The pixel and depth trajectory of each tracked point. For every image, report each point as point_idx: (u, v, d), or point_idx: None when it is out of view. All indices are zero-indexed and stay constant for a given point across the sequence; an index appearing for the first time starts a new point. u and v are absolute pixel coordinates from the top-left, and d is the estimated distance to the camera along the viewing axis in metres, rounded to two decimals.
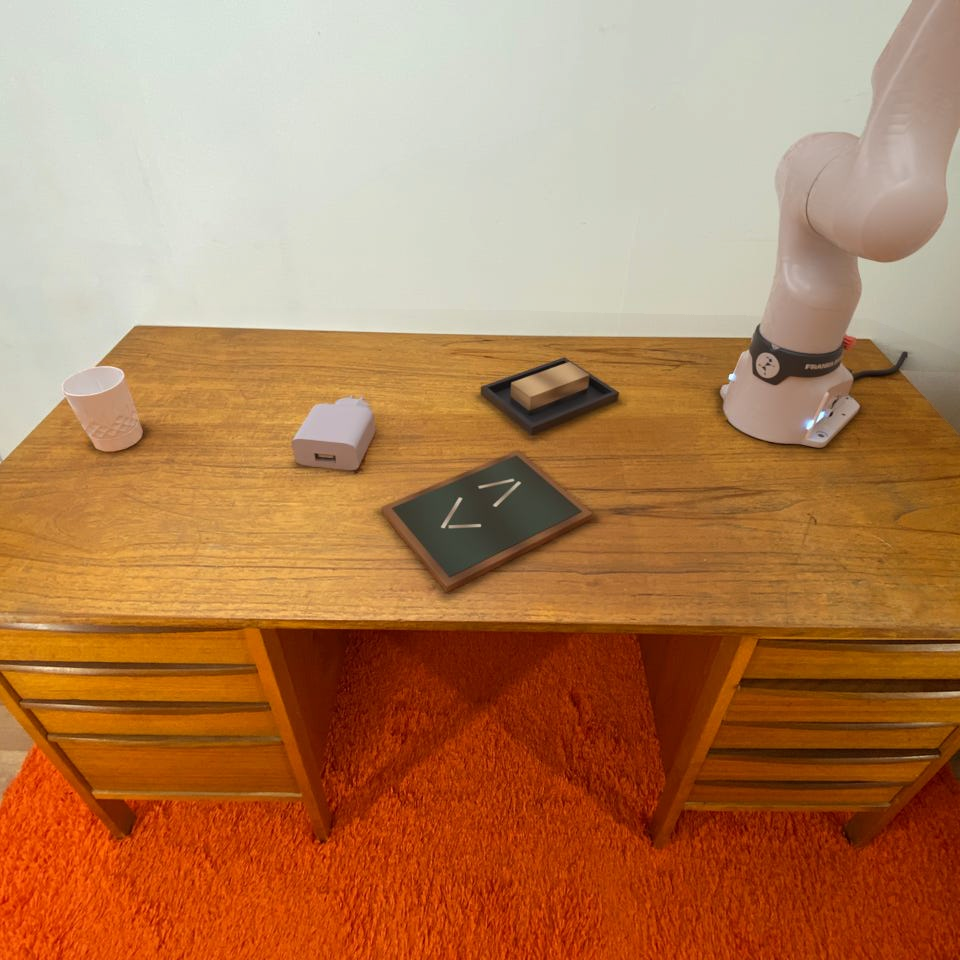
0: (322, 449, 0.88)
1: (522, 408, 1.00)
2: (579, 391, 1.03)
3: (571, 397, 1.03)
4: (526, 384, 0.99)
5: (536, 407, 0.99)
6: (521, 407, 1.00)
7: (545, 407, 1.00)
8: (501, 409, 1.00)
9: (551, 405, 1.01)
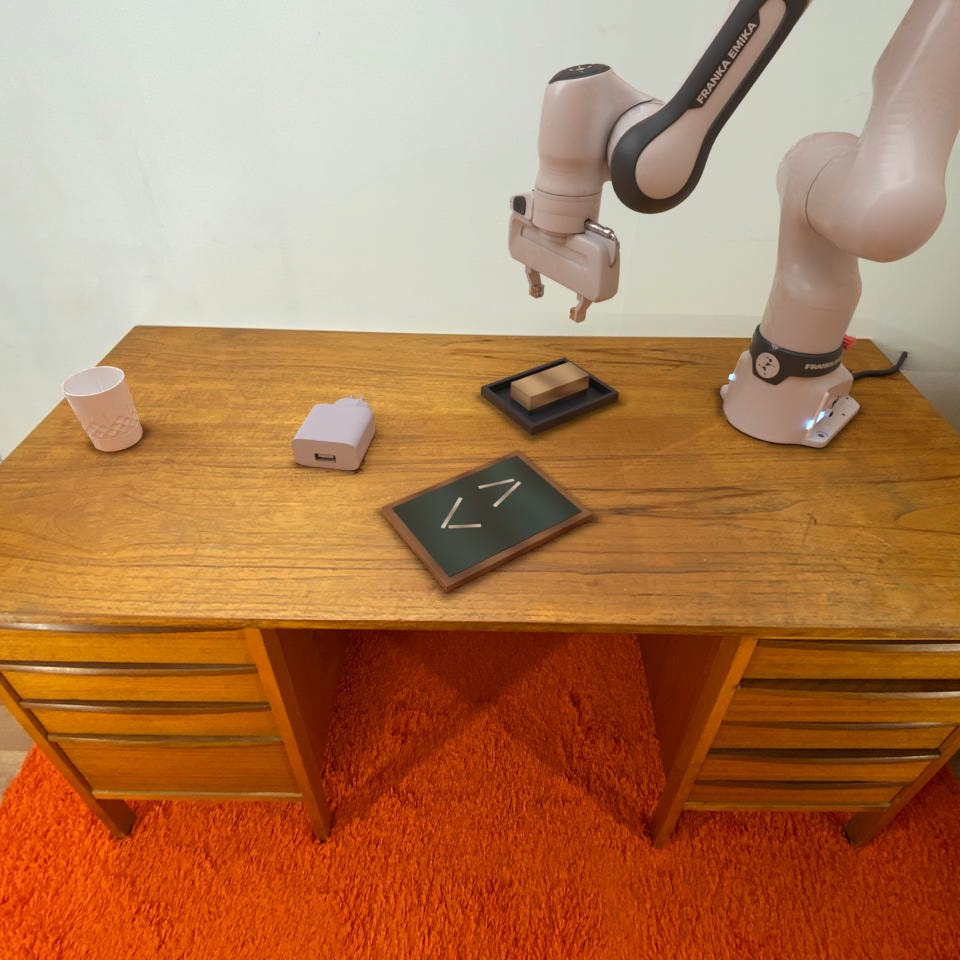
0: (322, 449, 0.88)
1: (522, 408, 1.00)
2: (579, 391, 1.03)
3: (571, 397, 1.03)
4: (526, 384, 0.99)
5: (536, 407, 0.99)
6: (521, 407, 1.00)
7: (545, 407, 1.00)
8: (501, 409, 1.00)
9: (551, 405, 1.01)
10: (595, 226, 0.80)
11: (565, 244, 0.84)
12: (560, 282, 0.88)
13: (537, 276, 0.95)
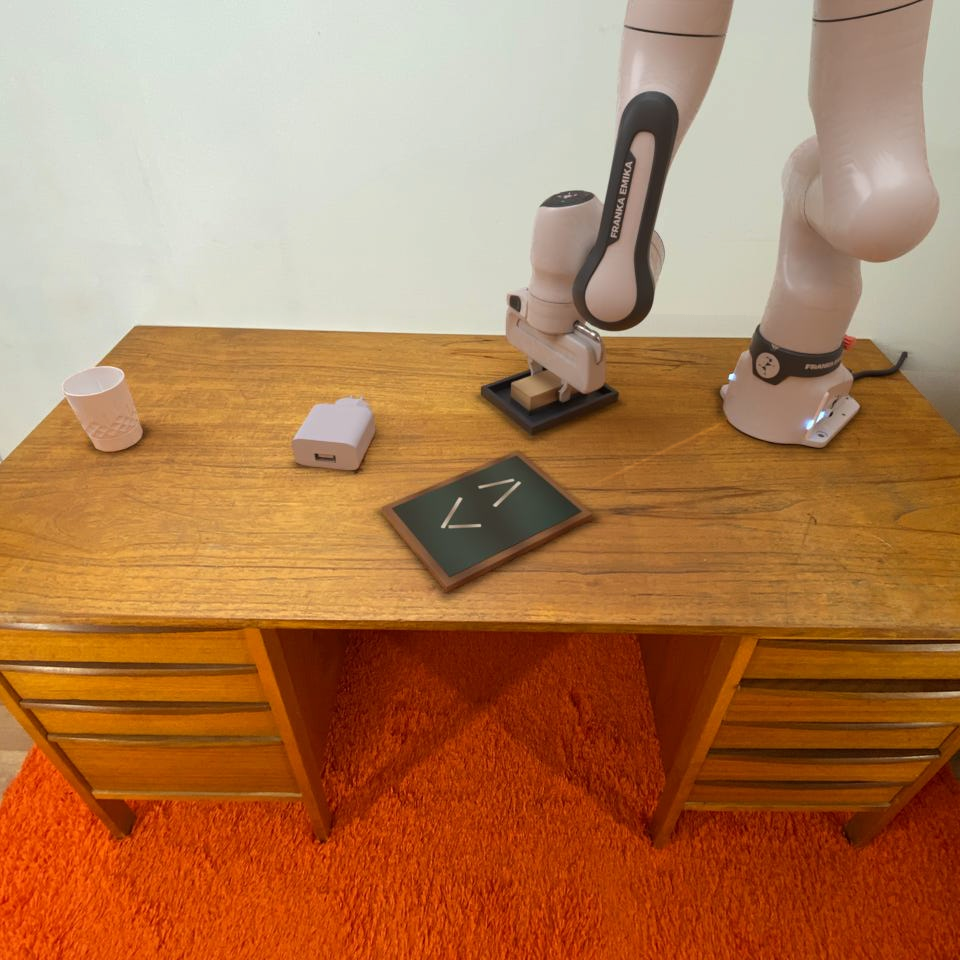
0: (322, 449, 0.88)
1: (522, 408, 1.00)
2: (579, 391, 1.03)
3: (572, 397, 1.03)
4: (526, 385, 0.99)
5: (536, 407, 0.99)
6: (521, 407, 1.00)
7: (545, 407, 1.00)
8: (501, 409, 1.00)
9: (551, 405, 1.01)
10: (583, 329, 0.89)
11: (556, 341, 0.93)
12: (552, 372, 0.97)
13: (538, 364, 1.03)
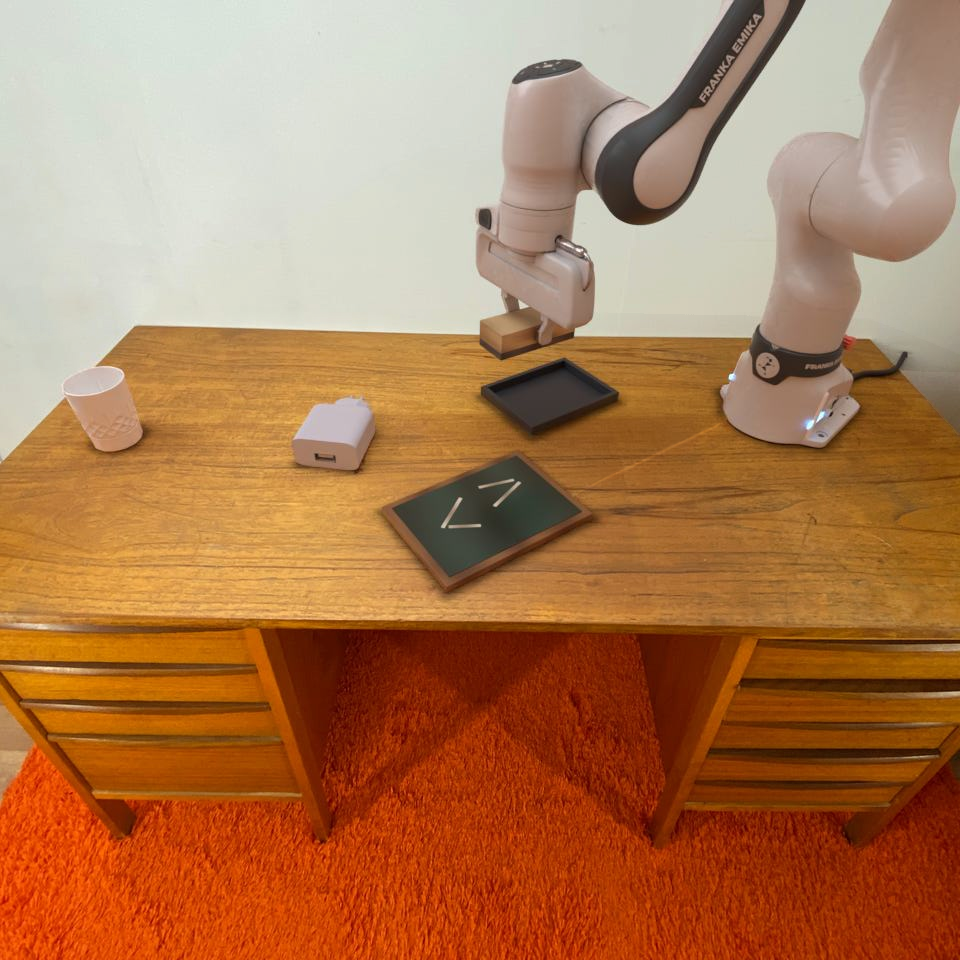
0: (322, 449, 0.88)
1: (493, 352, 0.81)
2: (564, 334, 0.84)
3: (554, 341, 0.84)
4: (498, 322, 0.81)
5: (510, 350, 0.81)
6: (491, 350, 0.82)
7: (521, 351, 0.82)
8: (501, 409, 1.00)
9: (529, 349, 0.82)
10: (566, 244, 0.71)
11: (534, 263, 0.75)
12: (530, 305, 0.78)
13: (515, 301, 0.85)
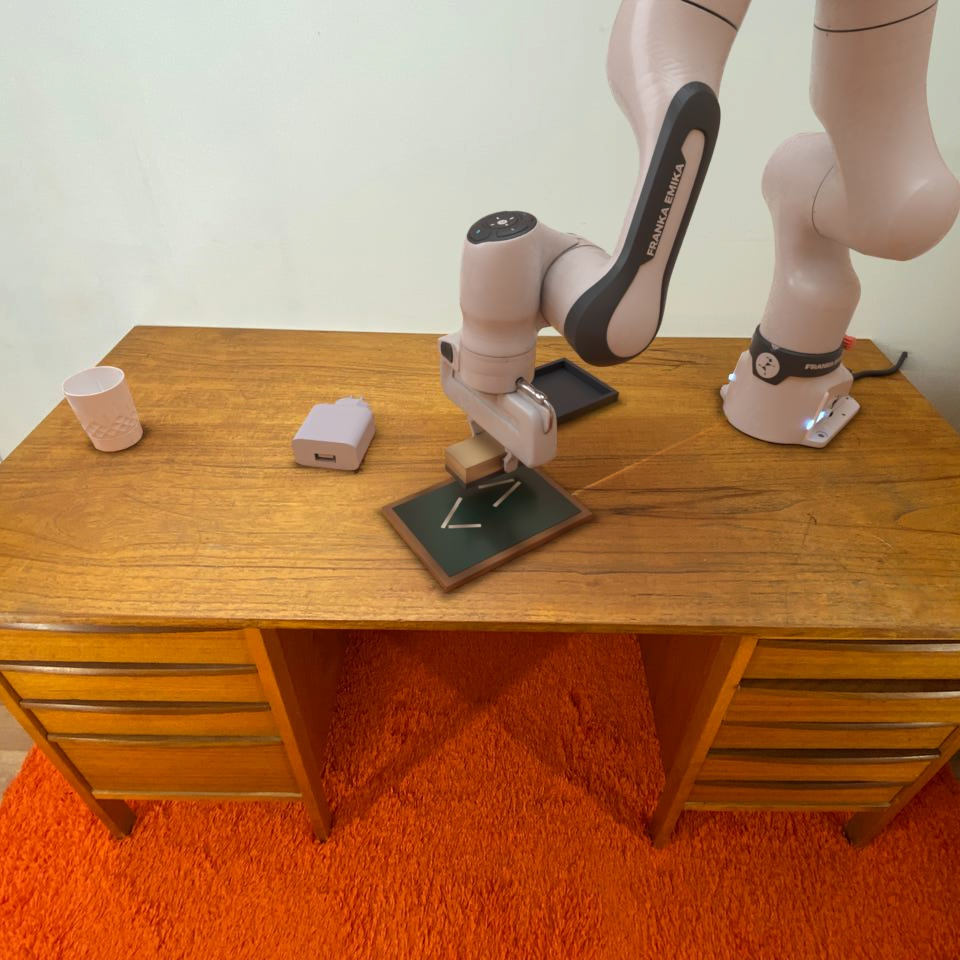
0: (322, 449, 0.88)
1: (458, 480, 0.80)
2: None
3: (521, 464, 0.83)
4: (462, 451, 0.80)
5: (475, 479, 0.80)
6: (456, 478, 0.81)
7: (486, 478, 0.81)
8: None
9: (494, 475, 0.81)
10: (527, 389, 0.70)
11: (496, 401, 0.74)
12: (494, 437, 0.78)
13: None
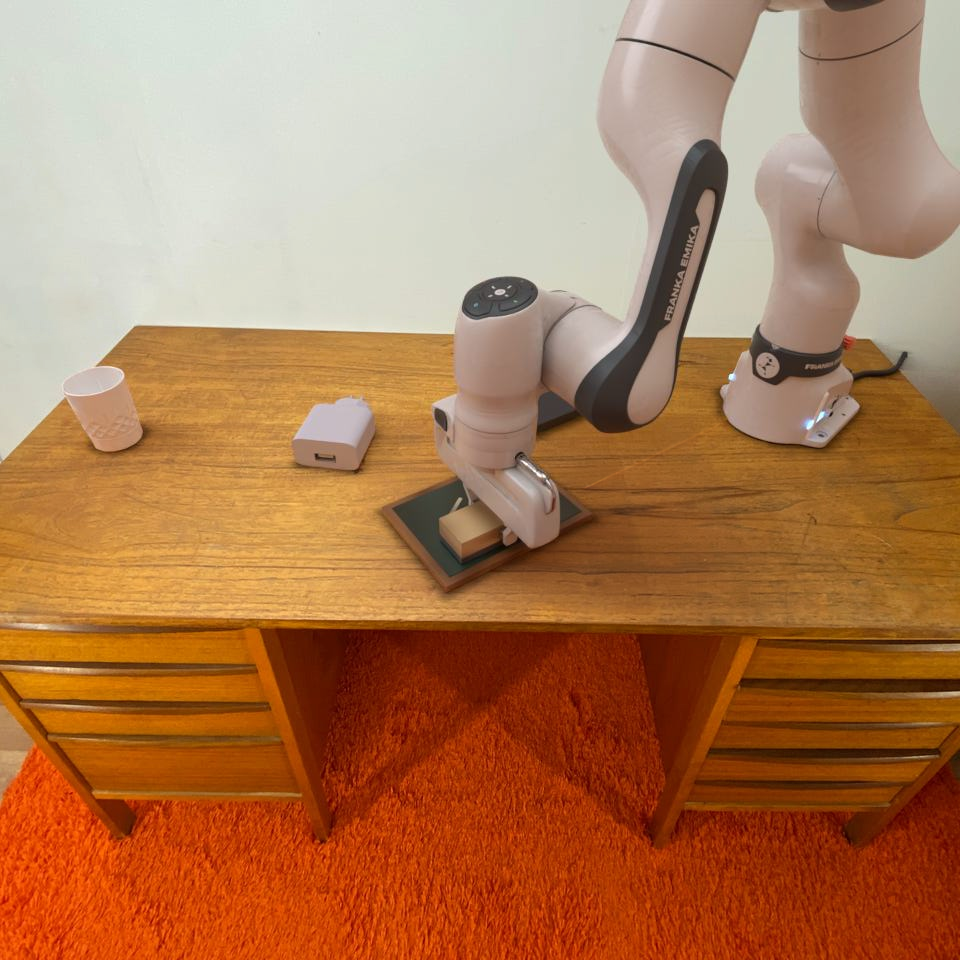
0: (322, 449, 0.88)
1: (453, 553, 0.75)
2: None
3: None
4: (458, 522, 0.75)
5: (472, 553, 0.74)
6: (452, 551, 0.75)
7: (484, 551, 0.75)
8: None
9: (493, 547, 0.76)
10: (527, 466, 0.65)
11: (494, 475, 0.68)
12: (492, 510, 0.72)
13: None
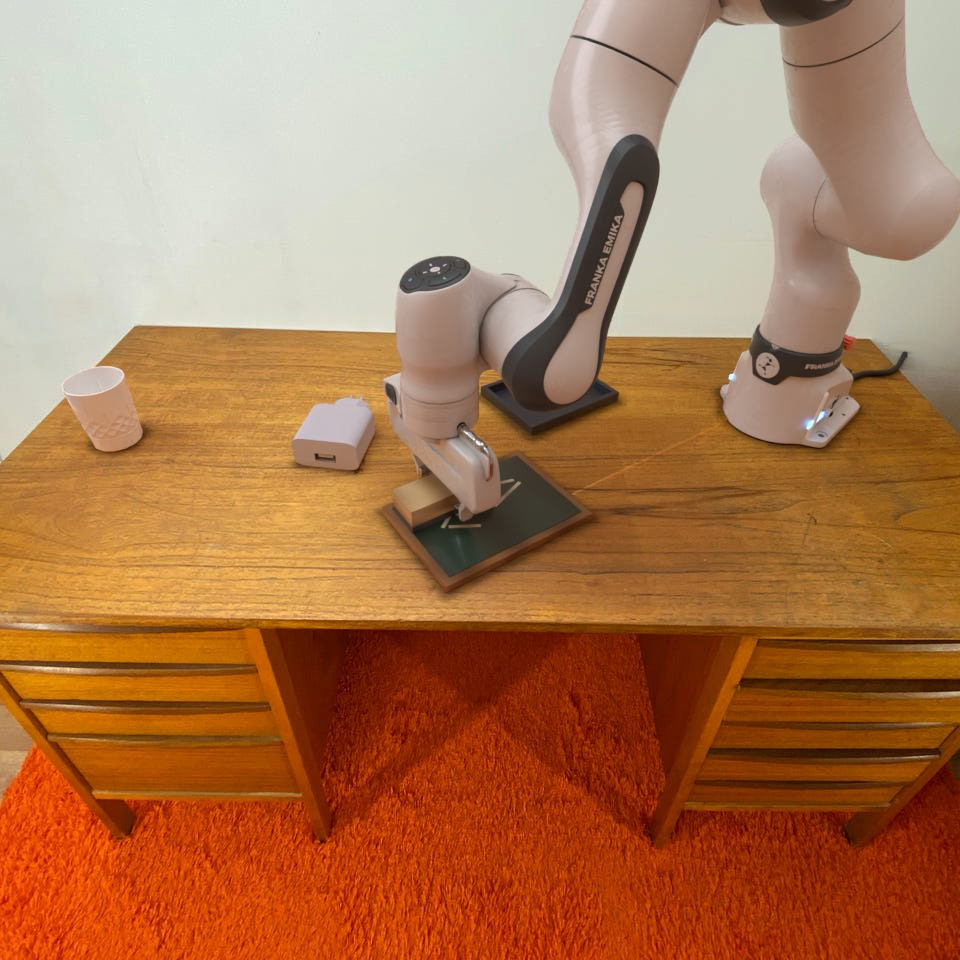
0: (322, 449, 0.88)
1: (405, 522, 0.79)
2: None
3: None
4: (409, 493, 0.79)
5: (422, 522, 0.78)
6: (404, 521, 0.79)
7: (434, 520, 0.79)
8: (501, 409, 1.00)
9: (443, 517, 0.80)
10: (467, 435, 0.69)
11: (439, 445, 0.73)
12: (440, 479, 0.76)
13: None
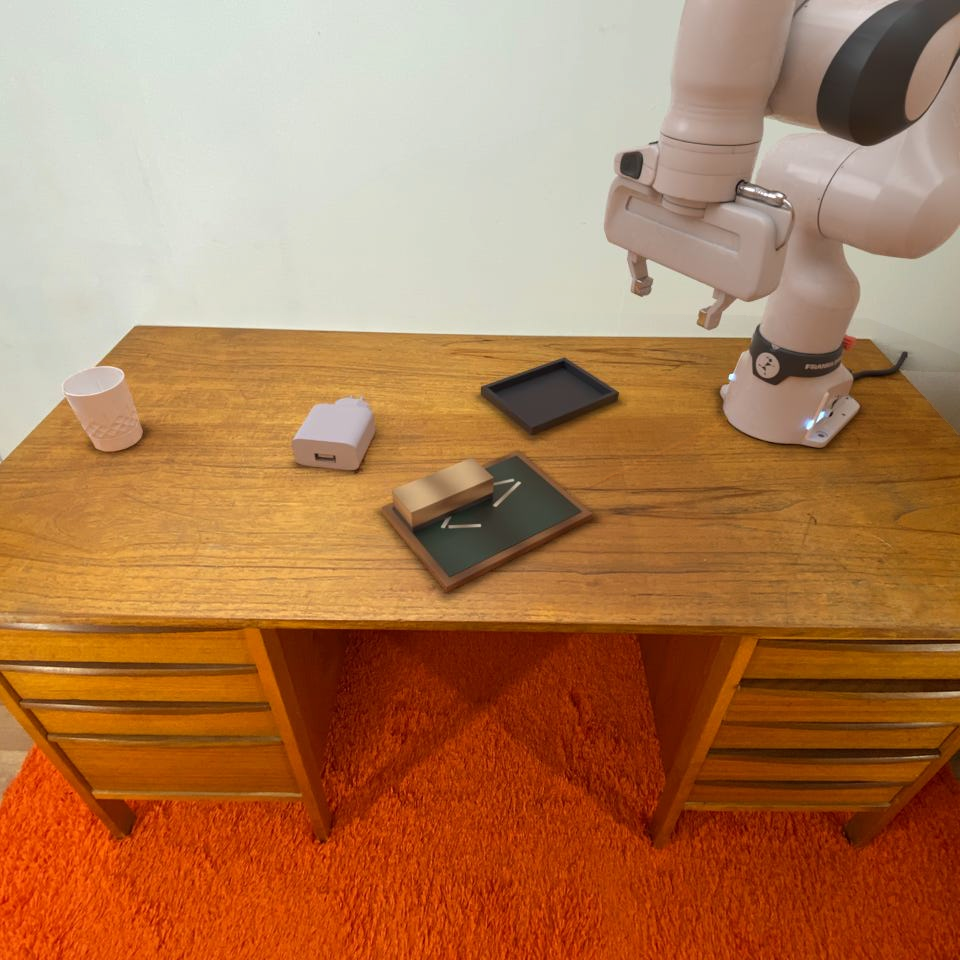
0: (322, 449, 0.88)
1: (405, 522, 0.79)
2: (481, 497, 0.82)
3: (471, 505, 0.82)
4: (409, 493, 0.79)
5: (422, 522, 0.78)
6: (404, 521, 0.79)
7: (434, 520, 0.79)
8: (501, 409, 1.00)
9: (443, 517, 0.80)
10: (755, 190, 0.55)
11: (702, 218, 0.59)
12: (688, 273, 0.62)
13: (643, 266, 0.70)
